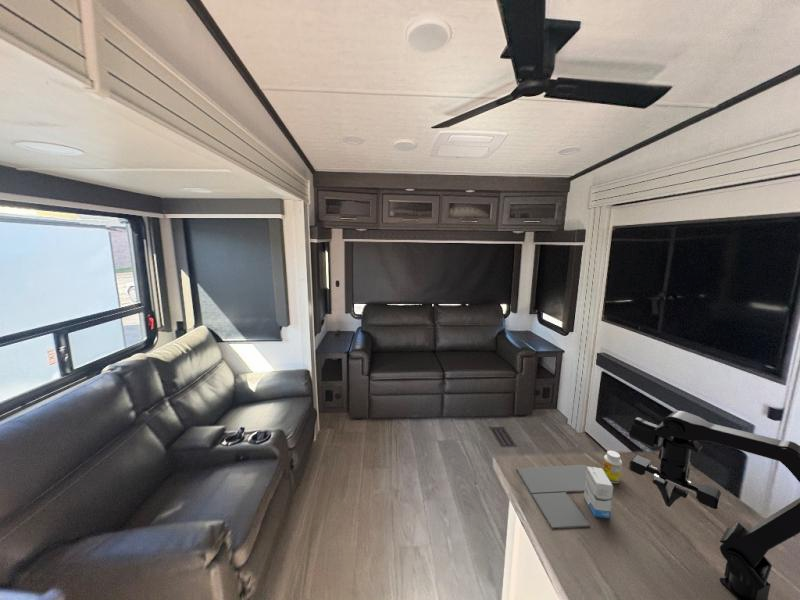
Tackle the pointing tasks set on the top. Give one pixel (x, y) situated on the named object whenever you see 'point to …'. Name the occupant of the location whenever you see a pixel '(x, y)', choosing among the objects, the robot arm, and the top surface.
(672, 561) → the top surface
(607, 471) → the supplement bottle
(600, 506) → the ink box
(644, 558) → the top surface
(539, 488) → the rubber mat
